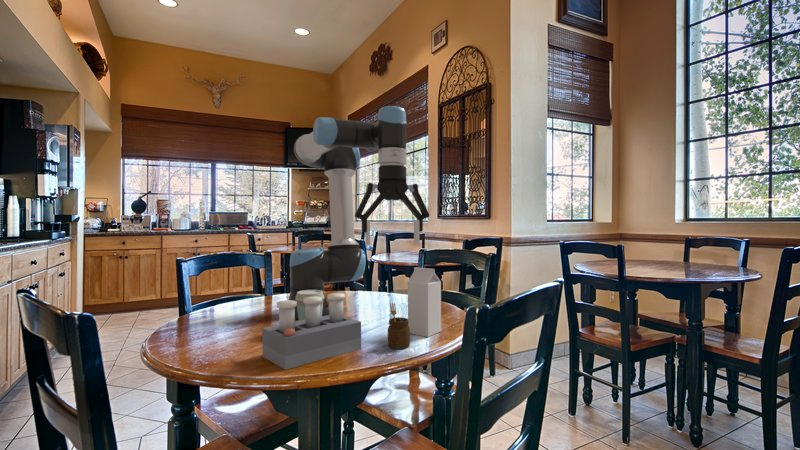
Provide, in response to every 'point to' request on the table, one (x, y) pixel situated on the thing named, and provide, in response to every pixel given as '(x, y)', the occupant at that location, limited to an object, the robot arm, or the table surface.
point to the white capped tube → (286, 314)
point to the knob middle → (312, 311)
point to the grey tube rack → (310, 342)
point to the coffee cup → (301, 305)
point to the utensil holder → (398, 331)
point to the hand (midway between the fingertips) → (392, 244)
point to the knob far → (336, 306)
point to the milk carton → (424, 302)
